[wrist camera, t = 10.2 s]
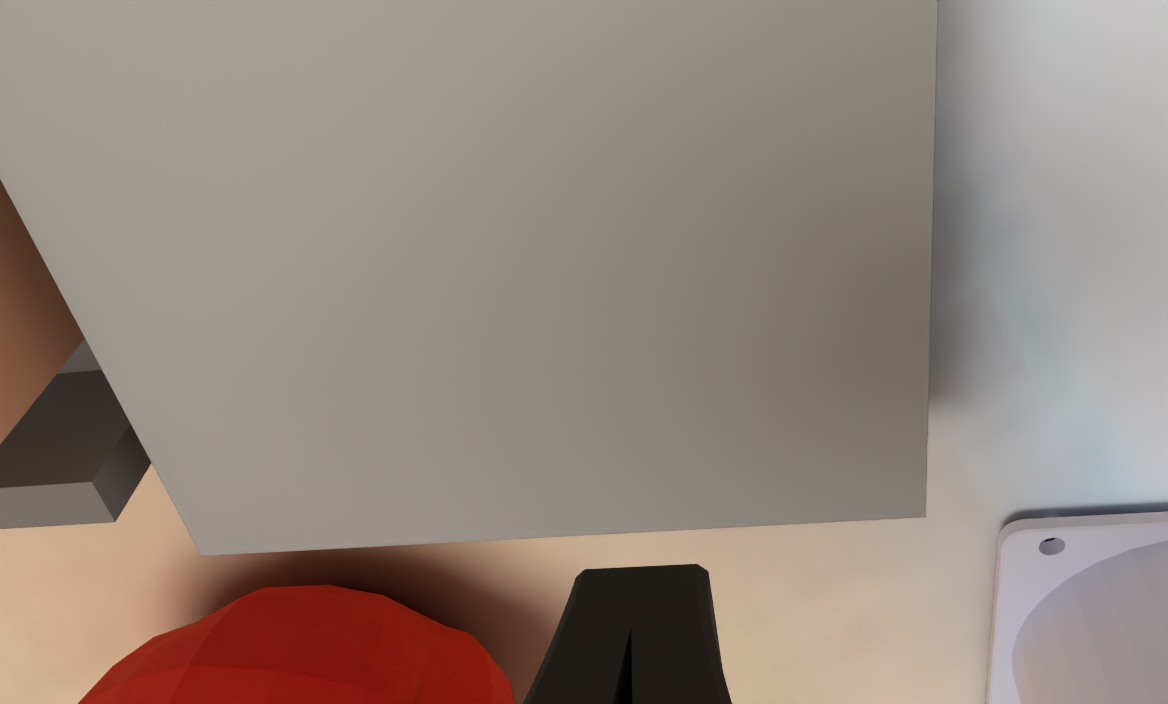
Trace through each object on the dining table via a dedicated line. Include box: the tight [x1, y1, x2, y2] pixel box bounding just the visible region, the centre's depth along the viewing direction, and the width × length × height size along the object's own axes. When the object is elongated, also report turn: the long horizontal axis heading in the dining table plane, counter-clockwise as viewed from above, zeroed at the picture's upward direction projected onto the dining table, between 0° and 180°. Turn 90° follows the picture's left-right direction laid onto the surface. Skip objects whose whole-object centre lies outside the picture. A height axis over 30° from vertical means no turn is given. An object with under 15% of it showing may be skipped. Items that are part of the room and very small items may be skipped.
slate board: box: [0, 0, 938, 556], centre depth 17 cm, size 14×14×3 cm
